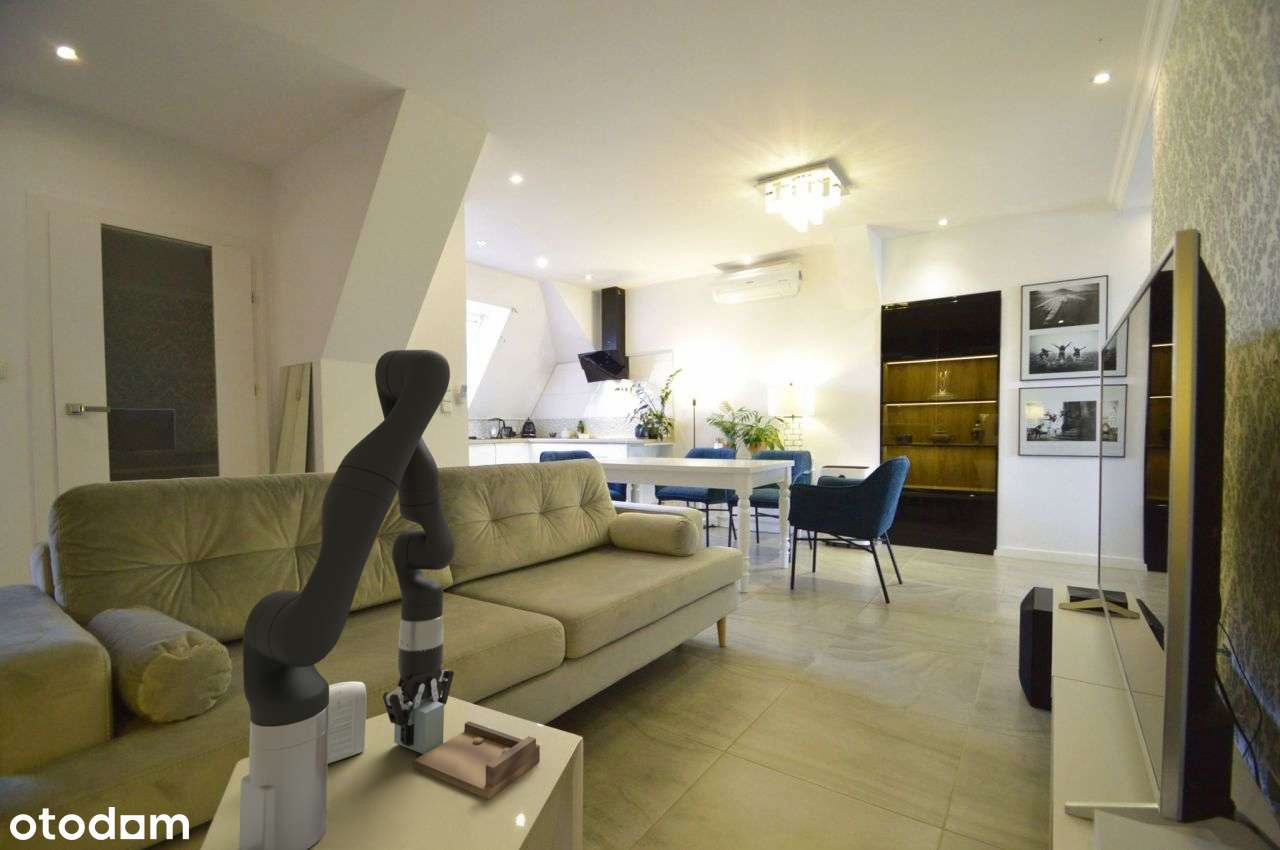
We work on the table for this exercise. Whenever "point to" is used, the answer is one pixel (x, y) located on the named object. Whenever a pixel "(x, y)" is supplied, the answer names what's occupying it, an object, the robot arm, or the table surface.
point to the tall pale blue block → (425, 727)
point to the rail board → (480, 759)
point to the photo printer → (346, 720)
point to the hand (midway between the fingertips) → (418, 738)
